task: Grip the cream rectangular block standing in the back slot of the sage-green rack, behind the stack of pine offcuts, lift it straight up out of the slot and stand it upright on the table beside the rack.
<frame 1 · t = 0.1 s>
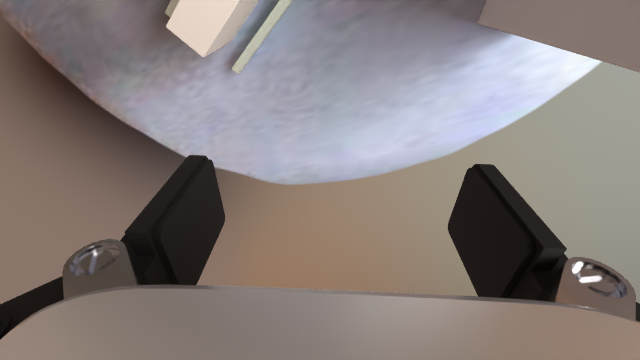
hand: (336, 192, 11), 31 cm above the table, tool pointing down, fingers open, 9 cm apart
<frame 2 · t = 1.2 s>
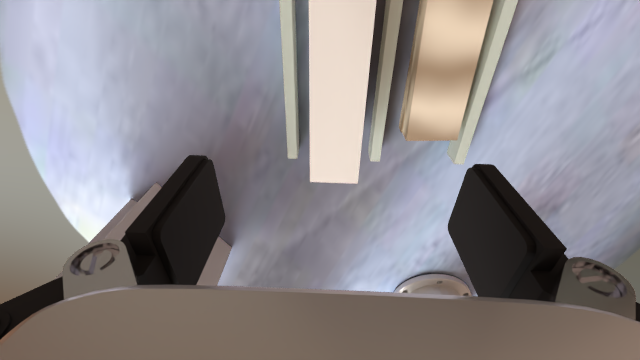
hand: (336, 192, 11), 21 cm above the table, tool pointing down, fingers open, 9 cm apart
offcut upper: (437, 73, 27), point 1 cm above the table, touching offcut lower
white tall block: (184, 224, 42), on the table
offcut lower: (432, 69, 29), on the table, touching offcut upper
cream rectangular block: (337, 68, 29), on the table
rack: (382, 69, 29), on the table
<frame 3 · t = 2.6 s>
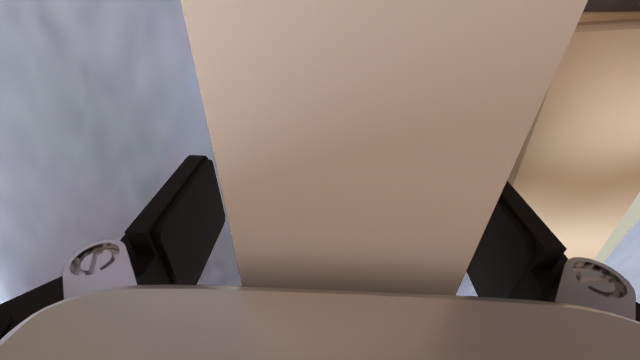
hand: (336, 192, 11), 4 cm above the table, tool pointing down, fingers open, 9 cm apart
offcut upper: (543, 167, 13), point 1 cm above the table
offcut lower: (523, 145, 15), on the table
cream rectangular block: (338, 143, 15), on the table
rack: (427, 147, 15), on the table
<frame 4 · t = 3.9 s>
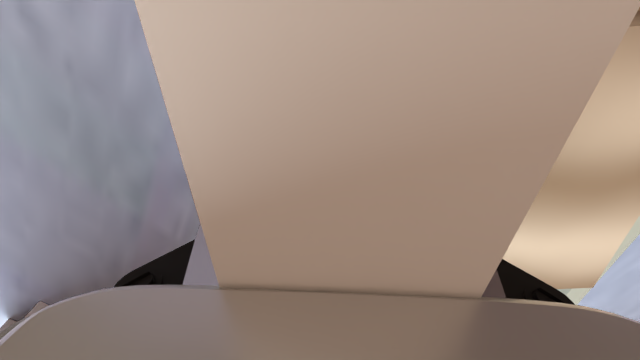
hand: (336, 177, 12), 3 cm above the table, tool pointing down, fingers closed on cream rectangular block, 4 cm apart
offcut upper: (551, 168, 13), point 1 cm above the table
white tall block: (101, 345, 27), on the table
cream rectangular block: (336, 144, 14), on the table, touching gripper
rack: (430, 147, 14), on the table
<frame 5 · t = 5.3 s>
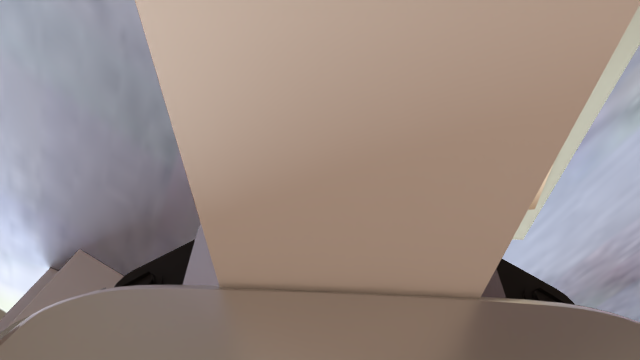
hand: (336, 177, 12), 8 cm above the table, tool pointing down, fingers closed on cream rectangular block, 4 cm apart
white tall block: (128, 294, 31), on the table
cream rectangular block: (336, 144, 14), point 5 cm above the table, touching gripper
rack: (405, 102, 18), on the table
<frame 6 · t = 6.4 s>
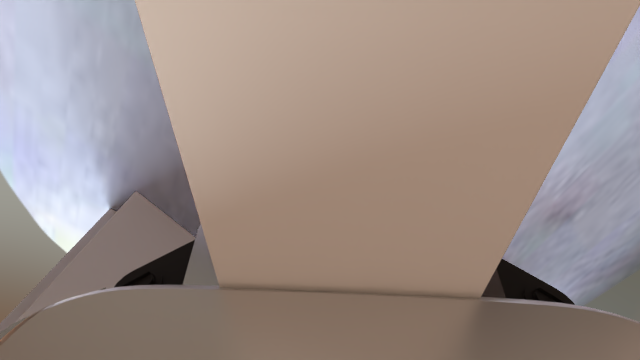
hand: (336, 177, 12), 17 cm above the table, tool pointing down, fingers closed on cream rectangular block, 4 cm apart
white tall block: (169, 234, 39), on the table
cream rectangular block: (336, 144, 14), point 14 cm above the table, touching gripper
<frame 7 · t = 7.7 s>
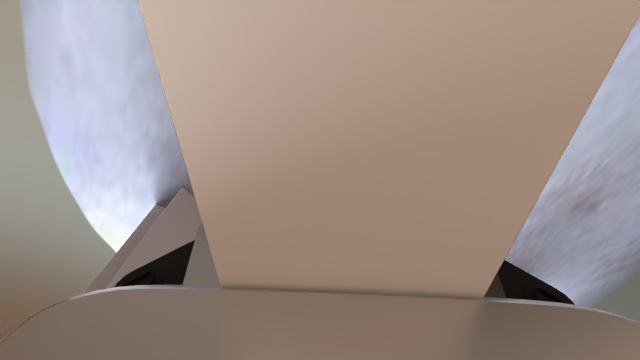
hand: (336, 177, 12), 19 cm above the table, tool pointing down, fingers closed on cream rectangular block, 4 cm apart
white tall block: (209, 228, 41), on the table
cream rectangular block: (336, 144, 14), point 17 cm above the table, touching gripper
when the fingers open (4 cm above the table, at t = 12.0 s): cream rectangular block drops 1 cm, on the table.
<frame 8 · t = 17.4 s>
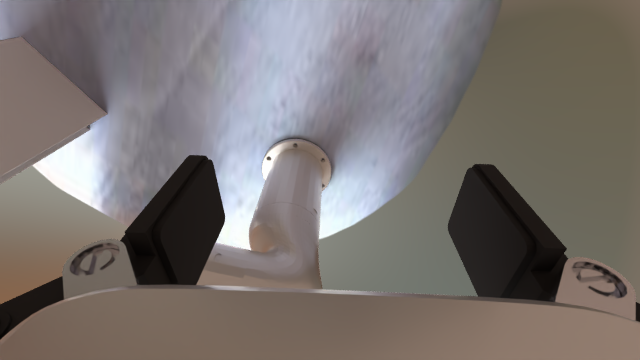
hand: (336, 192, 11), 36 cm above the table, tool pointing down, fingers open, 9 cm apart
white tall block: (59, 87, 47), on the table
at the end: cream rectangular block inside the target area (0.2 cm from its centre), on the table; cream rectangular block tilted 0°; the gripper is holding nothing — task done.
